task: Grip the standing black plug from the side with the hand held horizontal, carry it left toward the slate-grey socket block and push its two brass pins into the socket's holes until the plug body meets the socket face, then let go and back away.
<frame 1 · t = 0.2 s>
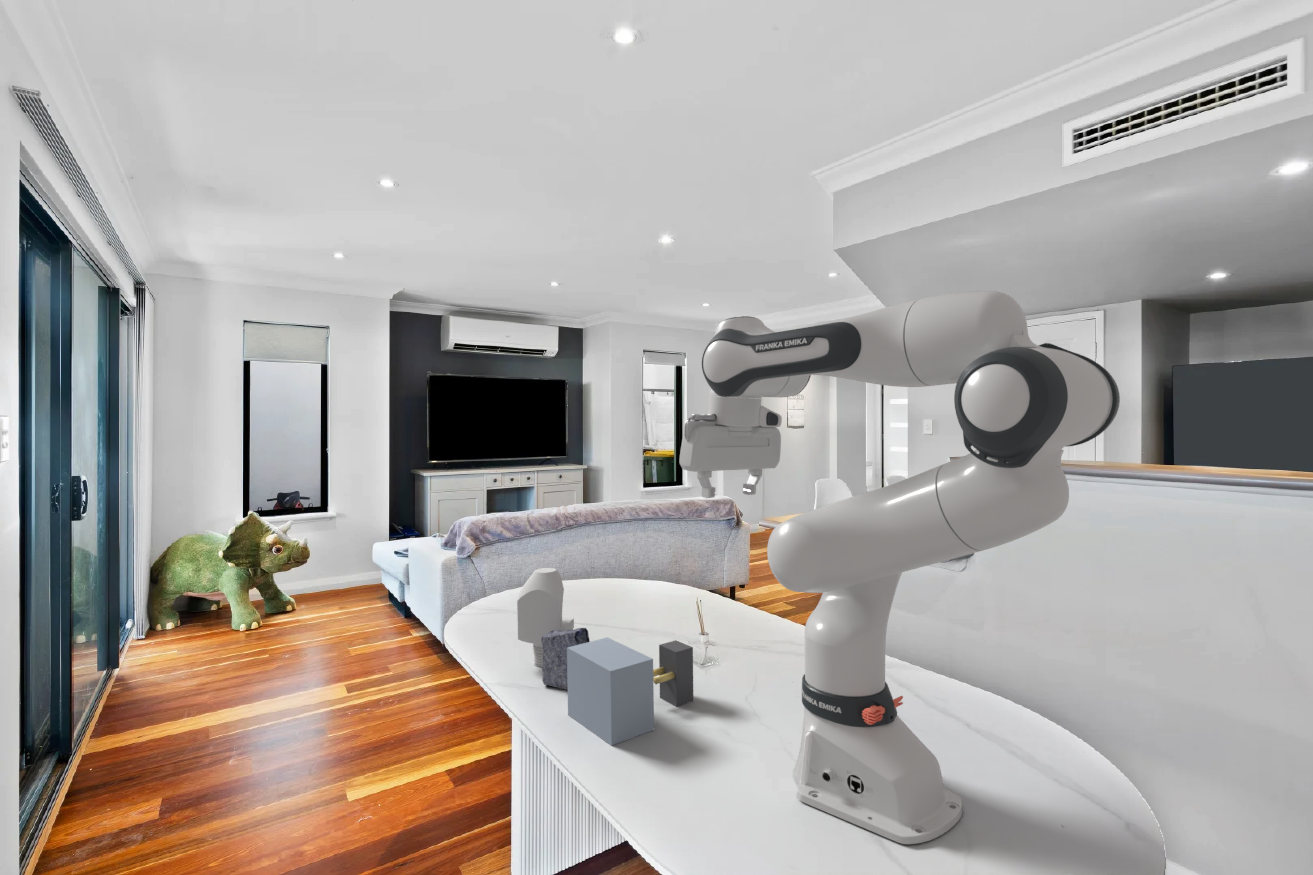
hand: (729, 495, 111), 39 cm above the table, tool pointing down, fingers open, 8 cm apart
plug: (676, 699, 121), on the table
socket: (608, 722, 112), on the table
stone: (566, 683, 129), on the table
light fixture: (547, 663, 140), on the table
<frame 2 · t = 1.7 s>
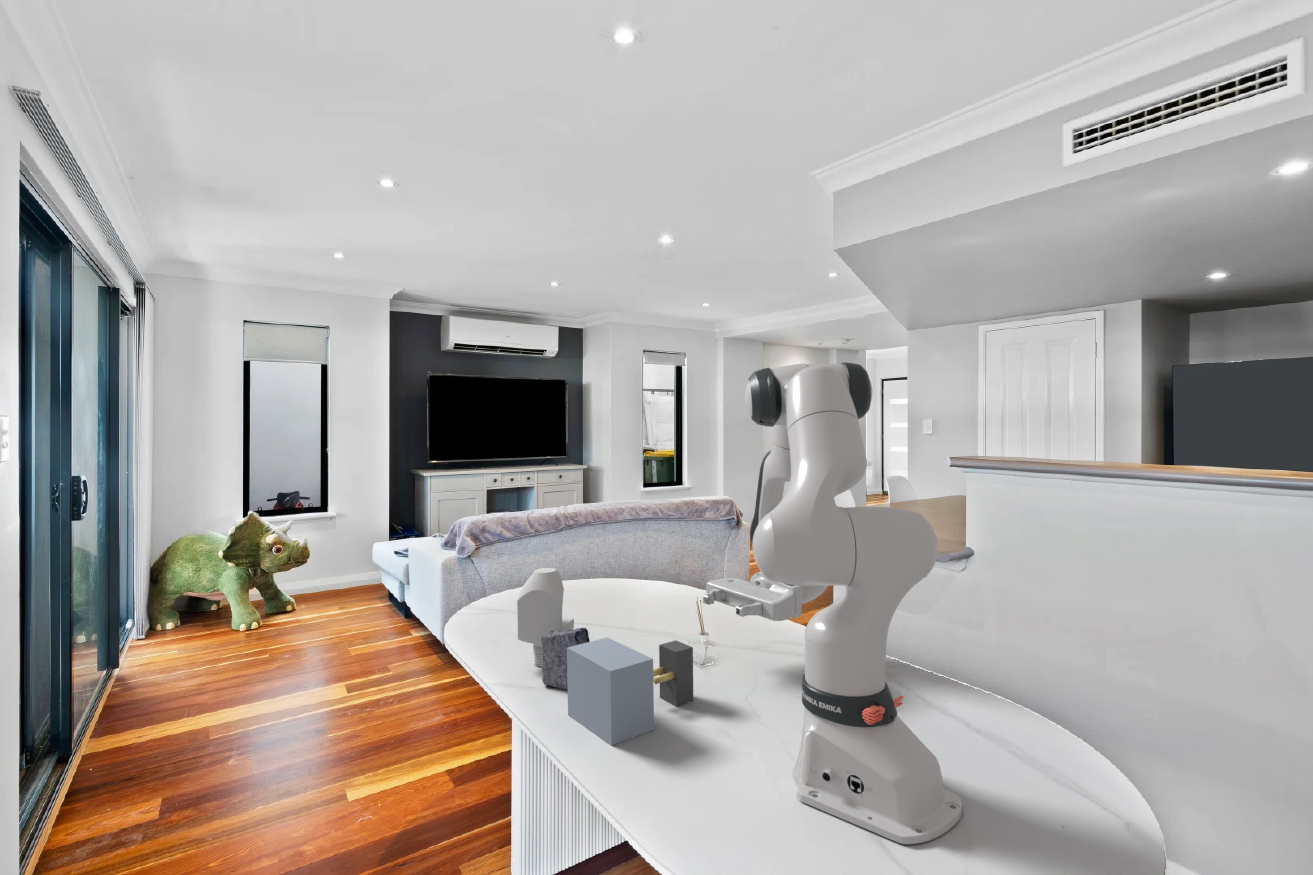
hand: (721, 605, 128), 15 cm above the table, tool horizontal, fingers open, 8 cm apart
nothing on the table moved.
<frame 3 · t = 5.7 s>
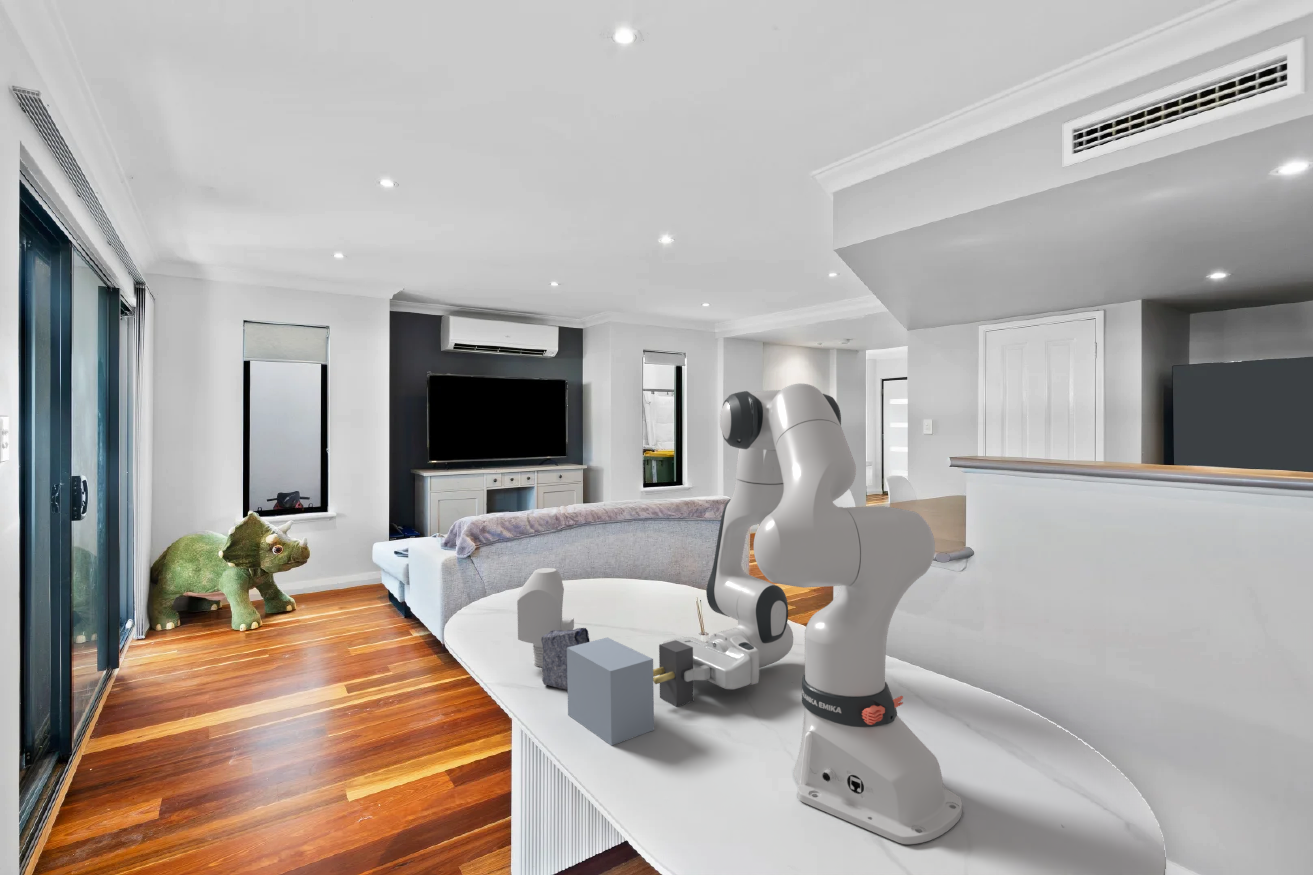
hand: (672, 670, 120), 6 cm above the table, tool horizontal, fingers closed on plug, 5 cm apart
plug: (676, 699, 121), on the table, touching gripper
everything else where it was.
when the fingers open (6 cm above the table, at t = 10.1 s): plug stays where it is, on the table.
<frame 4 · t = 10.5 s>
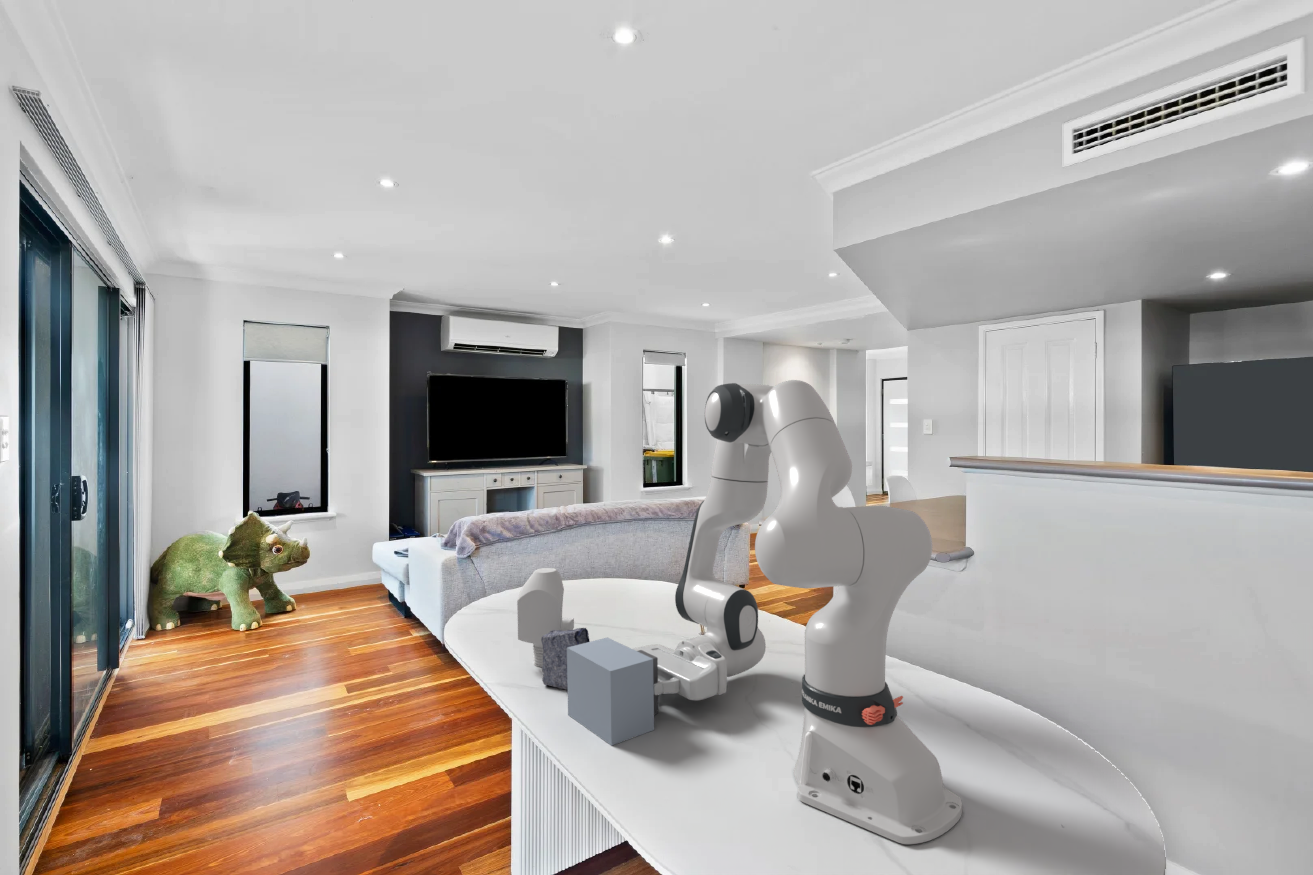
hand: (635, 680, 115), 6 cm above the table, tool horizontal, fingers open, 8 cm apart
plug: (640, 711, 116), on the table
everything else where it was.
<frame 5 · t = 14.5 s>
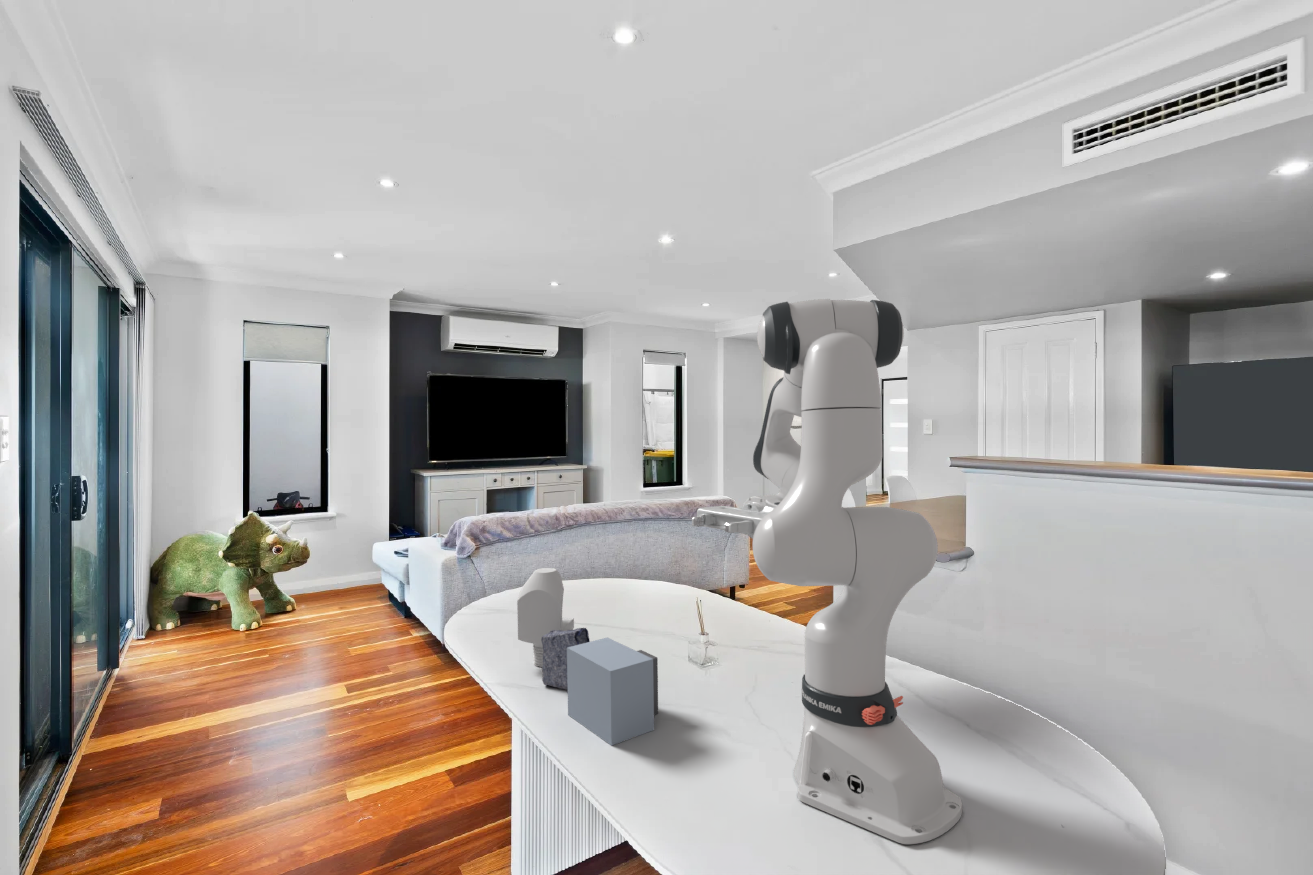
hand: (710, 525, 123), 32 cm above the table, tool horizontal, fingers open, 8 cm apart
plug: (640, 711, 116), on the table, touching socket
everything else where it was.
at the end: plug 0.0 cm from the target spot on the table beside the socket, on the table; plug tilted 0°; the gripper is holding nothing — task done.
